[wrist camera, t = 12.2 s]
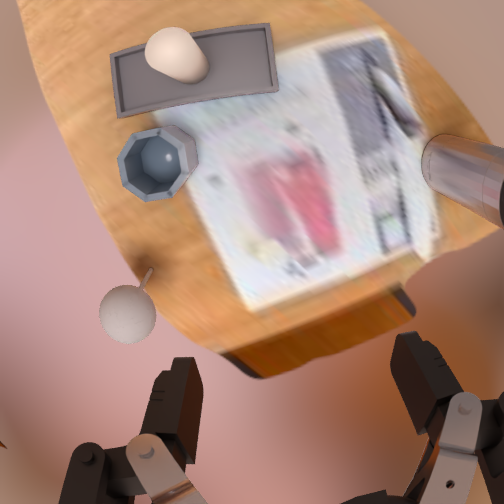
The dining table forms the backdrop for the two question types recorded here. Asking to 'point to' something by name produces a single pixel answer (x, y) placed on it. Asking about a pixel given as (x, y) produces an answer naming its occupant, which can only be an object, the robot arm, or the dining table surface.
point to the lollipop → (128, 312)
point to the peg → (177, 55)
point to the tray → (215, 83)
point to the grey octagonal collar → (157, 162)
